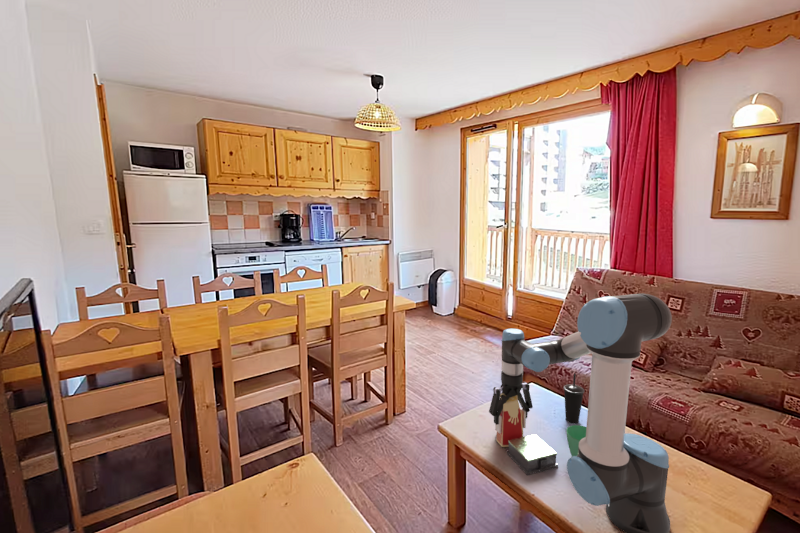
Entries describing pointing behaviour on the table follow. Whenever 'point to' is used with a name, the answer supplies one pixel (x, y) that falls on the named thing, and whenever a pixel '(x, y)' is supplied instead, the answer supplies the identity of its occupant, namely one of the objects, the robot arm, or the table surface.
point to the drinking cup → (573, 401)
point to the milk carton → (510, 422)
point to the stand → (532, 454)
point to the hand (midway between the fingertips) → (510, 428)
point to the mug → (575, 437)
